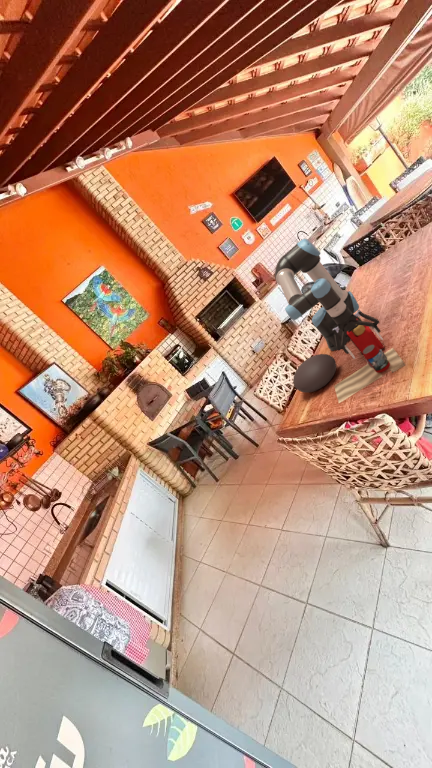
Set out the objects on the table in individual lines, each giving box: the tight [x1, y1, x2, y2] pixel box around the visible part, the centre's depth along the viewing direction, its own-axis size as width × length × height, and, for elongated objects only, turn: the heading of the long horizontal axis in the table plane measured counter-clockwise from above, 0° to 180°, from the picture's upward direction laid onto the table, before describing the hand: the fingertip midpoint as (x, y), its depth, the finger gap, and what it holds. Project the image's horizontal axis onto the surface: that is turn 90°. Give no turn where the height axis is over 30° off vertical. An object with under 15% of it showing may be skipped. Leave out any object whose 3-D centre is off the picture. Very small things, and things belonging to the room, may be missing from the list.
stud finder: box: [365, 349, 387, 368], centre depth 178 cm, size 5×8×4 cm, turn 77°
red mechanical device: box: [347, 316, 385, 357], centre depth 190 cm, size 16×10×20 cm, turn 168°
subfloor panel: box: [333, 347, 406, 404], centre depth 177 cm, size 18×32×1 cm, turn 77°
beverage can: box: [362, 345, 390, 373], centre depth 168 cm, size 7×7×12 cm
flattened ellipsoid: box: [292, 353, 337, 393], centre depth 203 cm, size 25×25×15 cm
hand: (367, 348), depth 167 cm, fingers open, 13 cm apart
